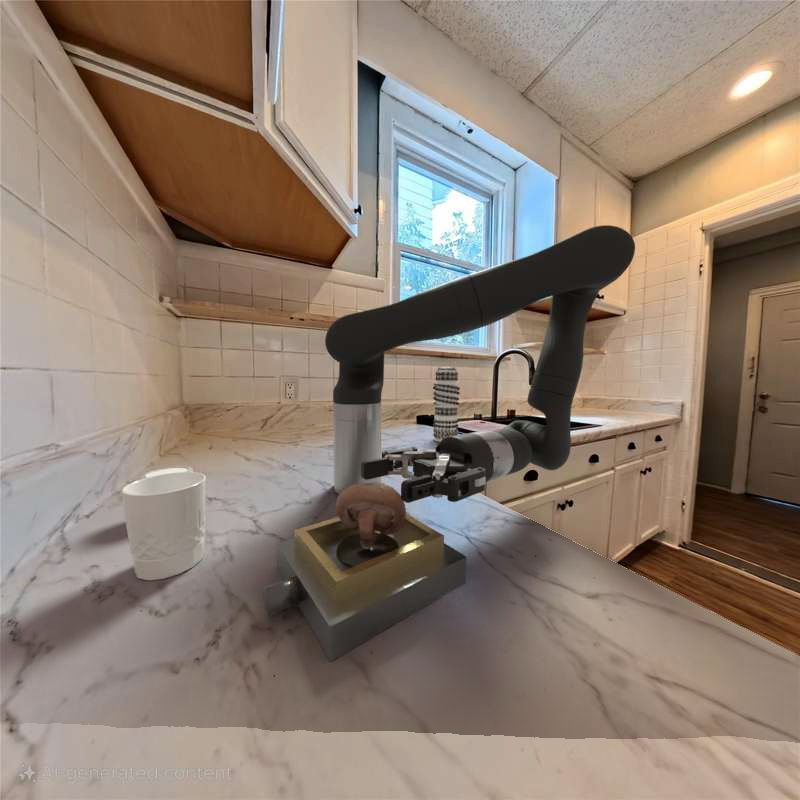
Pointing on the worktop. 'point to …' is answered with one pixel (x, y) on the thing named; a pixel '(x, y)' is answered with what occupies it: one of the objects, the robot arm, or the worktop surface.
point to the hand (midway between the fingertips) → (380, 480)
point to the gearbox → (361, 579)
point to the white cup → (165, 523)
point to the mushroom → (371, 510)
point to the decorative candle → (445, 403)
